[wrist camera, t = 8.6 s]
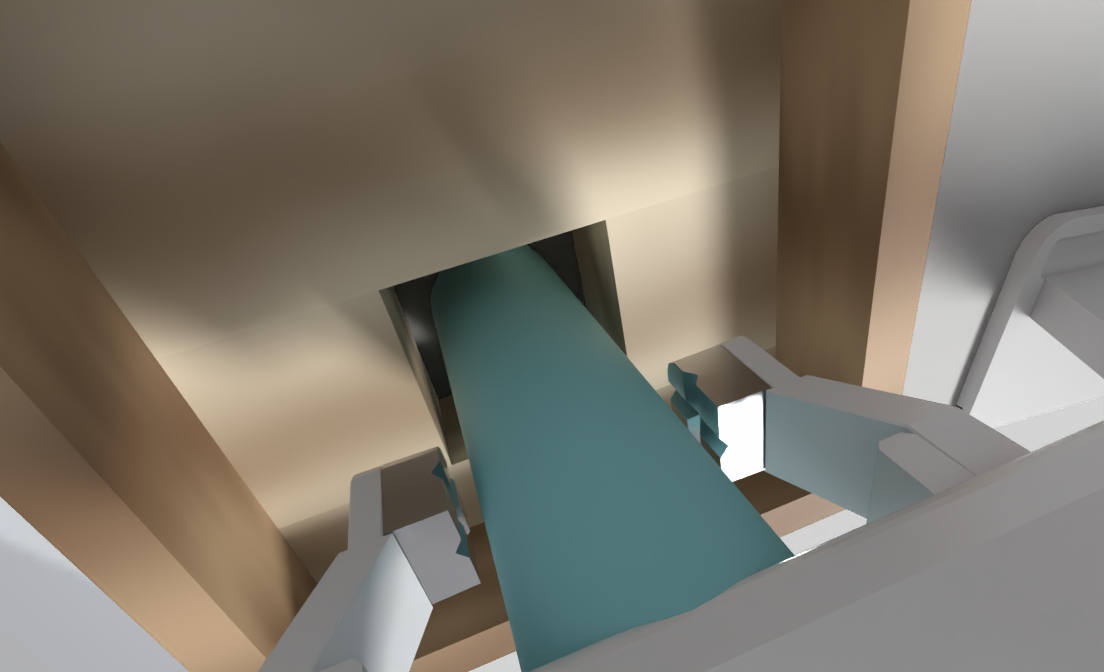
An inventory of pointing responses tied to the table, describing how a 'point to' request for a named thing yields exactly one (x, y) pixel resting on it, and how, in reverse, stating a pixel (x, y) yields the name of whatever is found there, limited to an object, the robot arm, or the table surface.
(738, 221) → the box
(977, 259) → the table surface
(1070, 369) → the phone holder
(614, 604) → the peg
